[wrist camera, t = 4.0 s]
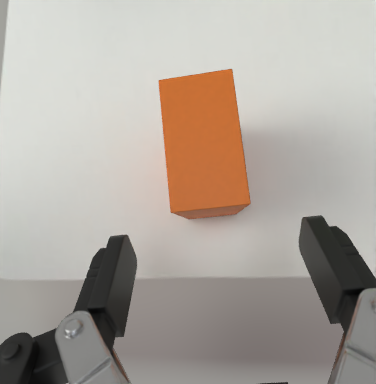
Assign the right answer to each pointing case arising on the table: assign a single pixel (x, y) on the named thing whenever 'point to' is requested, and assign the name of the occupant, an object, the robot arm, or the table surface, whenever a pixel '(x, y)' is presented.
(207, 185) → the block
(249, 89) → the table surface
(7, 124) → the table surface
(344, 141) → the table surface
